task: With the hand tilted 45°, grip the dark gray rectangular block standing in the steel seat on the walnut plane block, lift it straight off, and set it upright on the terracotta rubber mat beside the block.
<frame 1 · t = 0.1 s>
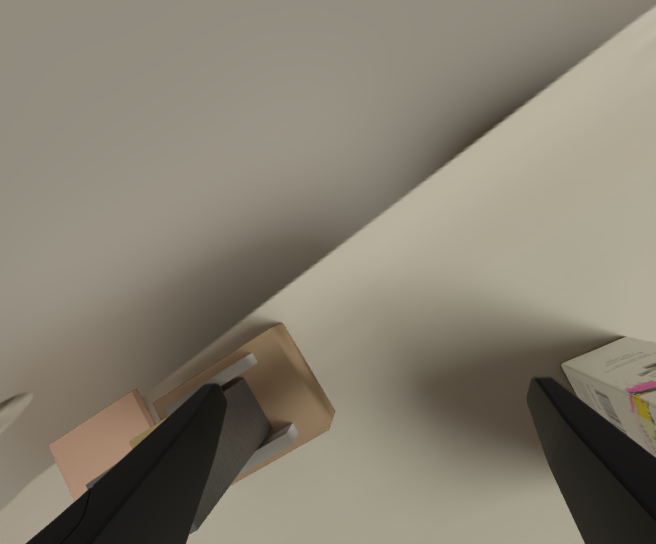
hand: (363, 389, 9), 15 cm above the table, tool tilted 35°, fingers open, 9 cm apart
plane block: (253, 399, 25), on the table
ink cartridge box: (622, 404, 21), on the table
dark gray rectangular block: (236, 415, 22), point 3 cm above the table, touching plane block
rubber mat: (120, 466, 27), on the table
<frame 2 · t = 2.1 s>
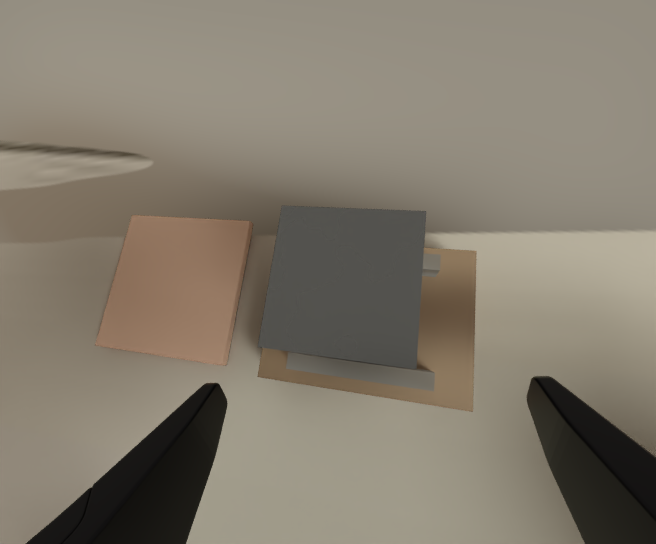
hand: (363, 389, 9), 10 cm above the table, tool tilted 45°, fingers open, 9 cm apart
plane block: (368, 319, 20), on the table
dark gray rectangular block: (365, 314, 17), point 3 cm above the table, touching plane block
rubber mat: (178, 284, 23), on the table
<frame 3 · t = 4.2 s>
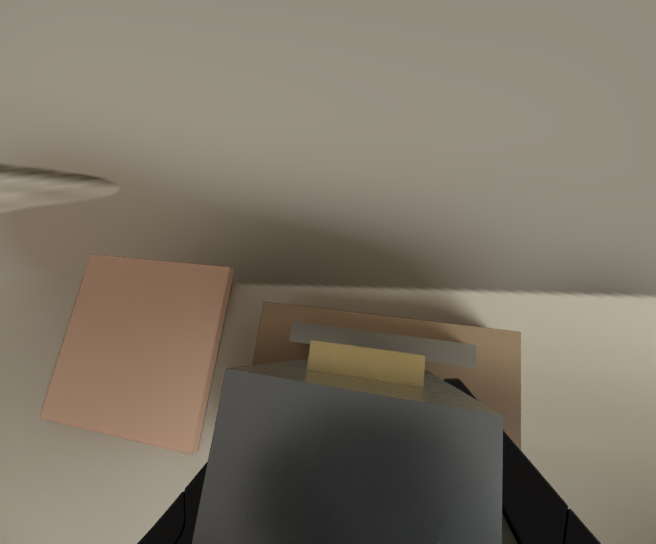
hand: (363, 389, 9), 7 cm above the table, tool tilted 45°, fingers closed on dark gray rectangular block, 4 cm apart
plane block: (374, 401, 15), on the table
dark gray rectangular block: (371, 413, 13), point 3 cm above the table, touching gripper, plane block
rubber mat: (142, 342, 19), on the table
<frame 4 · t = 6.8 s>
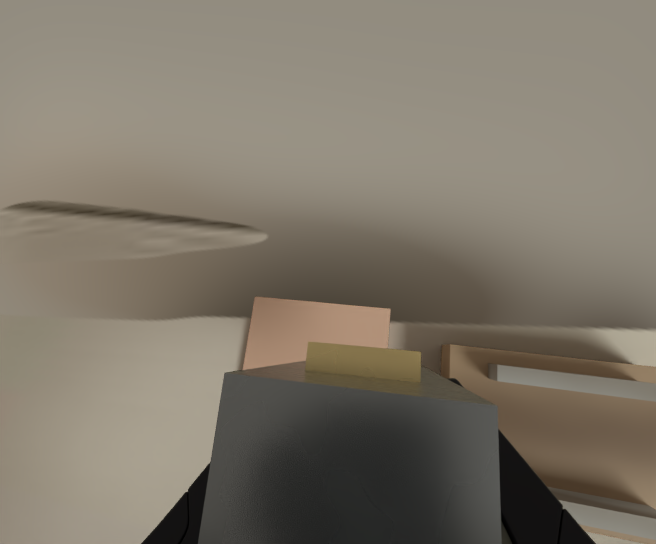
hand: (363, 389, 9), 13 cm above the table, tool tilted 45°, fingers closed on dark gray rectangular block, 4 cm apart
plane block: (535, 423, 19), on the table
dark gray rectangular block: (372, 412, 13), point 8 cm above the table, touching gripper
rubber mat: (312, 374, 22), on the table
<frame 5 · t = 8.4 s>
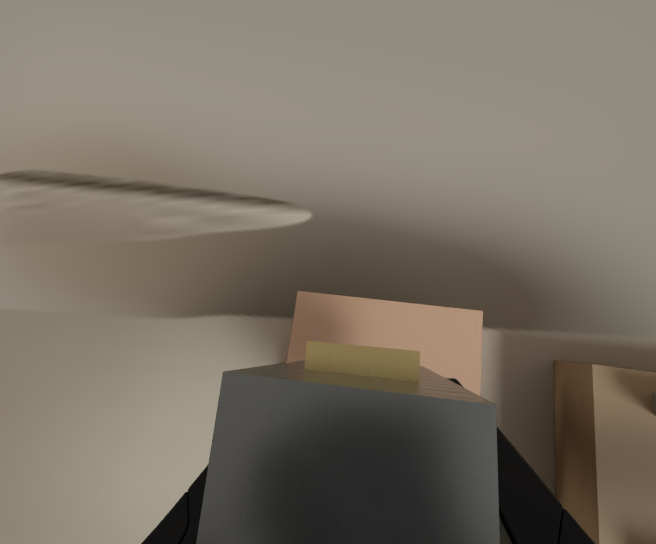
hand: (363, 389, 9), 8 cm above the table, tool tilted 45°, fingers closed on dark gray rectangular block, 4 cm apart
dark gray rectangular block: (371, 411, 13), point 4 cm above the table, touching gripper
rubber mat: (375, 394, 16), on the table
when the fingers open (6 cm above the table, at t = 9.5 s): dark gray rectangular block drops 2 cm, resting on rubber mat.
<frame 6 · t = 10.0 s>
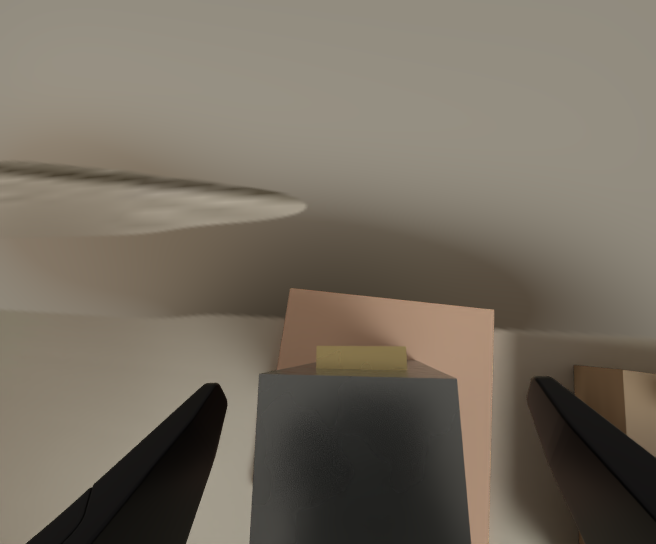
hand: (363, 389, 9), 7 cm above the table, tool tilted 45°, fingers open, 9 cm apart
dark gray rectangular block: (373, 404, 14), point 1 cm above the table, touching rubber mat
rubber mat: (375, 401, 15), on the table
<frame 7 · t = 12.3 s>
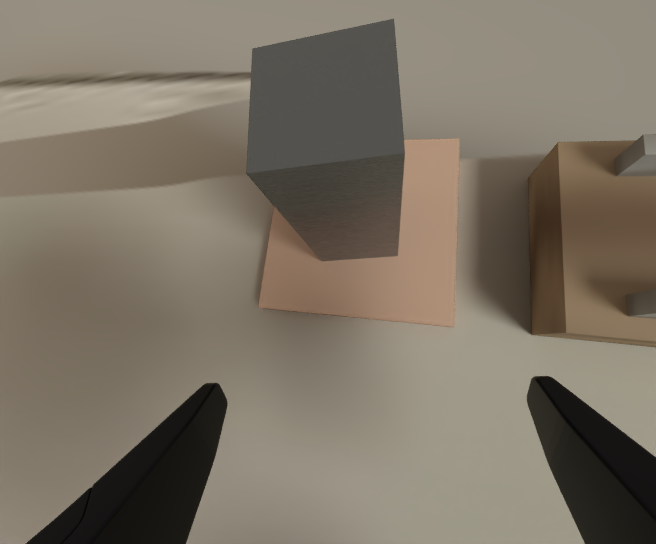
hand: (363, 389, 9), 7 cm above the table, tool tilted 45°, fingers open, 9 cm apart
dark gray rectangular block: (357, 223, 17), point 1 cm above the table, touching rubber mat
rubber mat: (359, 227, 17), on the table
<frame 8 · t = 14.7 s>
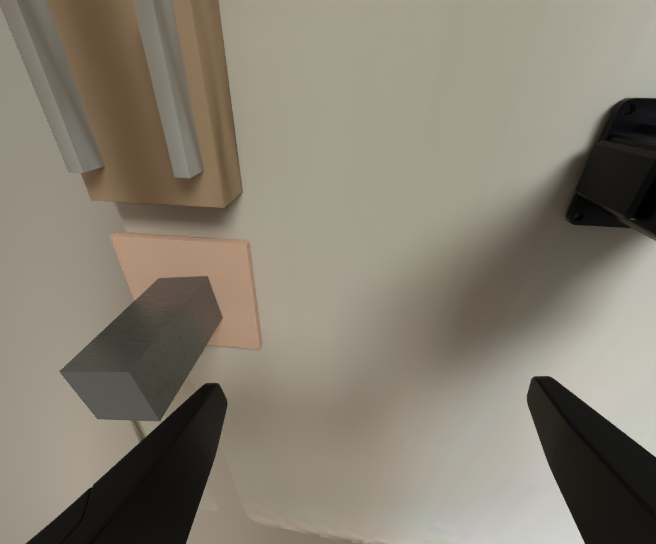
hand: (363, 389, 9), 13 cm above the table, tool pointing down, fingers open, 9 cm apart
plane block: (160, 91, 17), on the table
dark gray rectangular block: (191, 298, 24), point 1 cm above the table, touching rubber mat
rubber mat: (195, 293, 25), on the table
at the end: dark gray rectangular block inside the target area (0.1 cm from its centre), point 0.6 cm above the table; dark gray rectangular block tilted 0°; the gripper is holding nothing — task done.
